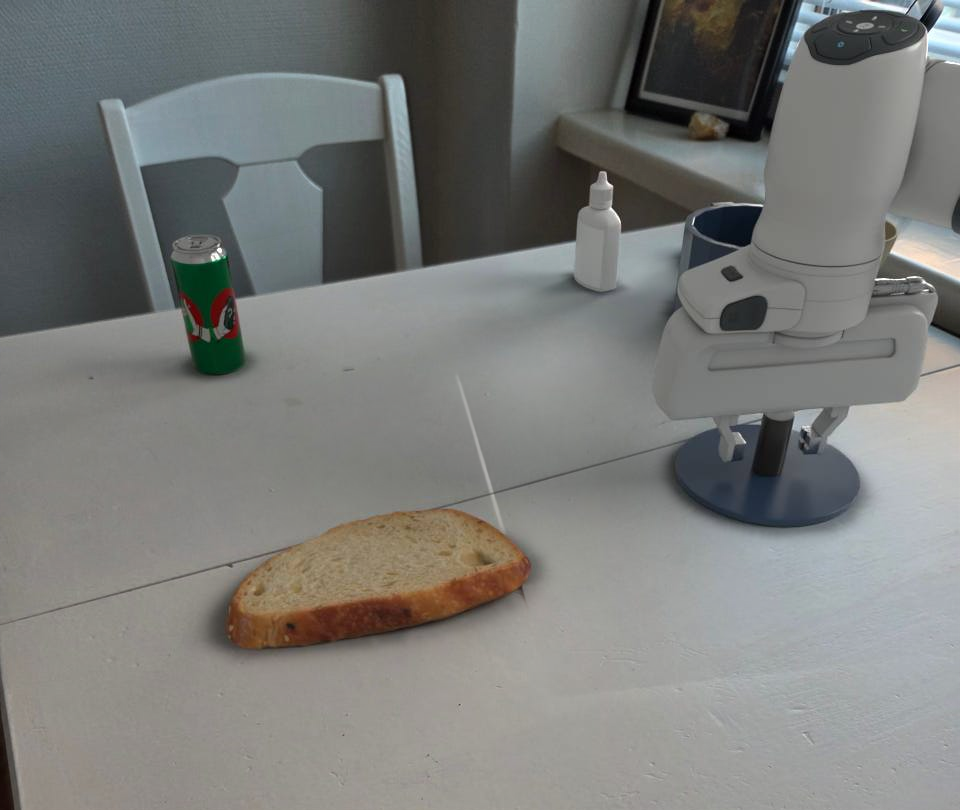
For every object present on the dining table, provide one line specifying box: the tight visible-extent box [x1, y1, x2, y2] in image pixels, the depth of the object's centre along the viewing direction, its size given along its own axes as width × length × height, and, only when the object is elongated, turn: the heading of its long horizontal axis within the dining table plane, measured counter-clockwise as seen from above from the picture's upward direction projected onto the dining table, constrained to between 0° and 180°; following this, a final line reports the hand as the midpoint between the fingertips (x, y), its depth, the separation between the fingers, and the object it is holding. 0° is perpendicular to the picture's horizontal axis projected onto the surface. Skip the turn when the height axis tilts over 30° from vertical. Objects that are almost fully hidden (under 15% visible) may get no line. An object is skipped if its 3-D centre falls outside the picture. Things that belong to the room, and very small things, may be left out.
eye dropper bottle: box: [573, 170, 622, 293], centre depth 107 cm, size 4×6×12 cm
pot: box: [672, 201, 764, 313], centre depth 101 cm, size 14×19×10 cm
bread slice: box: [225, 508, 532, 651], centre depth 68 cm, size 18×18×4 cm
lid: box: [674, 411, 861, 528], centre depth 78 cm, size 15×15×6 cm
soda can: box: [170, 234, 247, 376], centre depth 92 cm, size 5×5×12 cm
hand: (769, 454), depth 79 cm, fingers open, 5 cm apart
